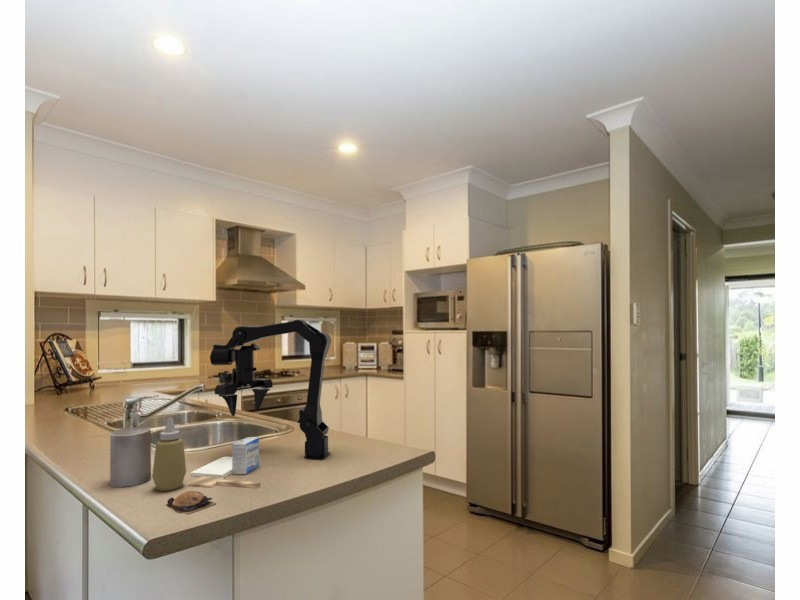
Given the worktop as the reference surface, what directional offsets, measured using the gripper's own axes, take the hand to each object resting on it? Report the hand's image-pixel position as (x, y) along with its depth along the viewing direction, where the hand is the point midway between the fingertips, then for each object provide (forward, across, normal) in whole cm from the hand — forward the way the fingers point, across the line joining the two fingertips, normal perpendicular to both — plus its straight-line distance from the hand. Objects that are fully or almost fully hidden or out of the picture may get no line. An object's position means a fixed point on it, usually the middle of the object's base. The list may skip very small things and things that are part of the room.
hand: (245, 413), depth 152 cm
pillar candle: (+13, +33, -7) cm, 36 cm away
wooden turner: (+14, +20, +18) cm, 30 cm away
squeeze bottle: (+14, +30, +7) cm, 33 cm away
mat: (+14, +12, +5) cm, 19 cm away
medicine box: (+14, +10, +12) cm, 21 cm away
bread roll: (+14, +33, +22) cm, 43 cm away
